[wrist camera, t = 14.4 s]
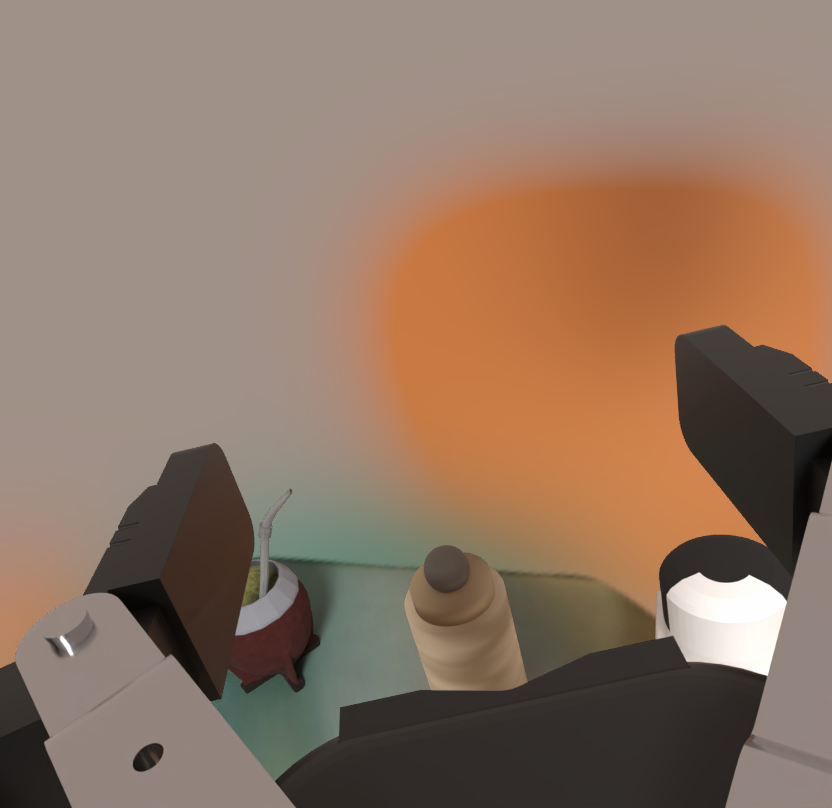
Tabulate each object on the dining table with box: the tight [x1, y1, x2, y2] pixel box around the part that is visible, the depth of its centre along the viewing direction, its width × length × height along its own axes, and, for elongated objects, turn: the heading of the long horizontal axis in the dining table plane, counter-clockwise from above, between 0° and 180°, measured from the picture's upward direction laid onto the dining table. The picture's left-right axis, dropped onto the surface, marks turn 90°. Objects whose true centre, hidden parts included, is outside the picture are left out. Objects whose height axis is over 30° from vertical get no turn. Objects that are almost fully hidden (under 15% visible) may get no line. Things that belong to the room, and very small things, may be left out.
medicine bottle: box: [655, 535, 793, 676], centre depth 37 cm, size 7×7×12 cm
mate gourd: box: [228, 489, 320, 693], centre depth 49 cm, size 8×8×15 cm
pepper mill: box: [404, 545, 528, 691], centre depth 37 cm, size 5×5×15 cm
